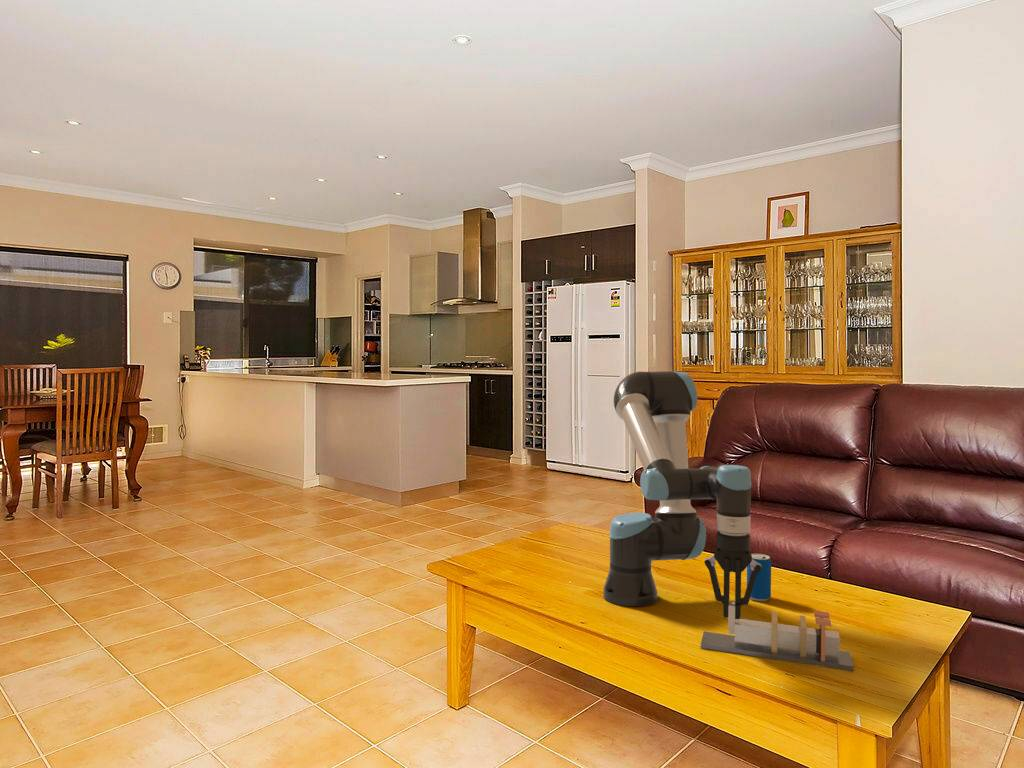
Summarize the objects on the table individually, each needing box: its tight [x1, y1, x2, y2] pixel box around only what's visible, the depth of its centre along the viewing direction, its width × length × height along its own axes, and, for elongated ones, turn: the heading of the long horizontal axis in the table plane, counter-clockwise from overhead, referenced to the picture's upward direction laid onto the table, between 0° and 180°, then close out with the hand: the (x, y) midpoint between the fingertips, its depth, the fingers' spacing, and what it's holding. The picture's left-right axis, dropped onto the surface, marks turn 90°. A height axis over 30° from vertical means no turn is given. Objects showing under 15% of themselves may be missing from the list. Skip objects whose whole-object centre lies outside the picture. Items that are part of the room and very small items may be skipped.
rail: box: [700, 611, 855, 672], centre depth 156 cm, size 32×8×8 cm, turn 69°
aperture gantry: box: [813, 610, 832, 661], centre depth 152 cm, size 3×7×9 cm, turn 159°
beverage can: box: [746, 553, 772, 602], centre depth 192 cm, size 6×6×12 cm
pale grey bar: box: [734, 618, 841, 656], centre depth 155 cm, size 22×4×4 cm, turn 69°
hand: (731, 631), depth 159 cm, fingers closed
